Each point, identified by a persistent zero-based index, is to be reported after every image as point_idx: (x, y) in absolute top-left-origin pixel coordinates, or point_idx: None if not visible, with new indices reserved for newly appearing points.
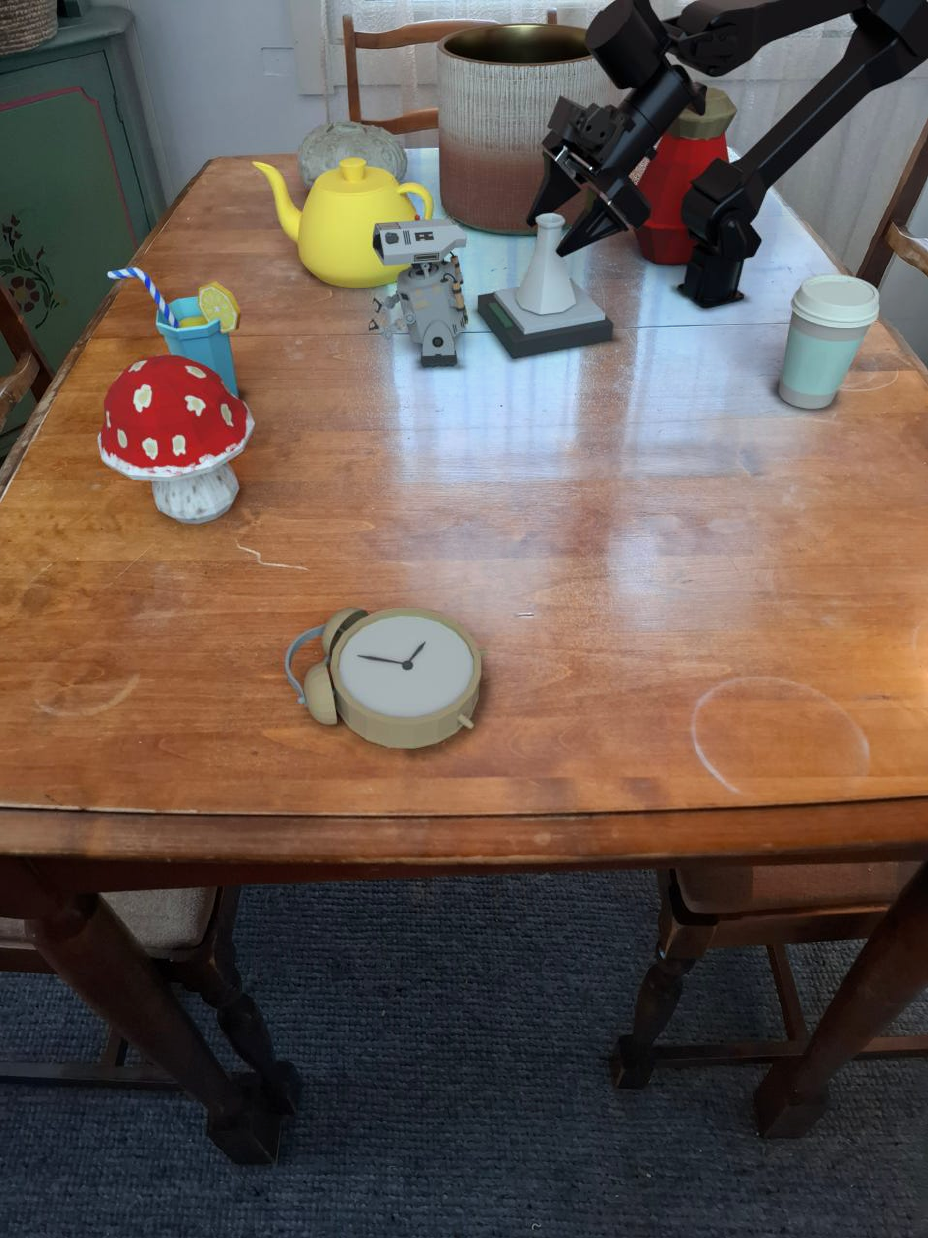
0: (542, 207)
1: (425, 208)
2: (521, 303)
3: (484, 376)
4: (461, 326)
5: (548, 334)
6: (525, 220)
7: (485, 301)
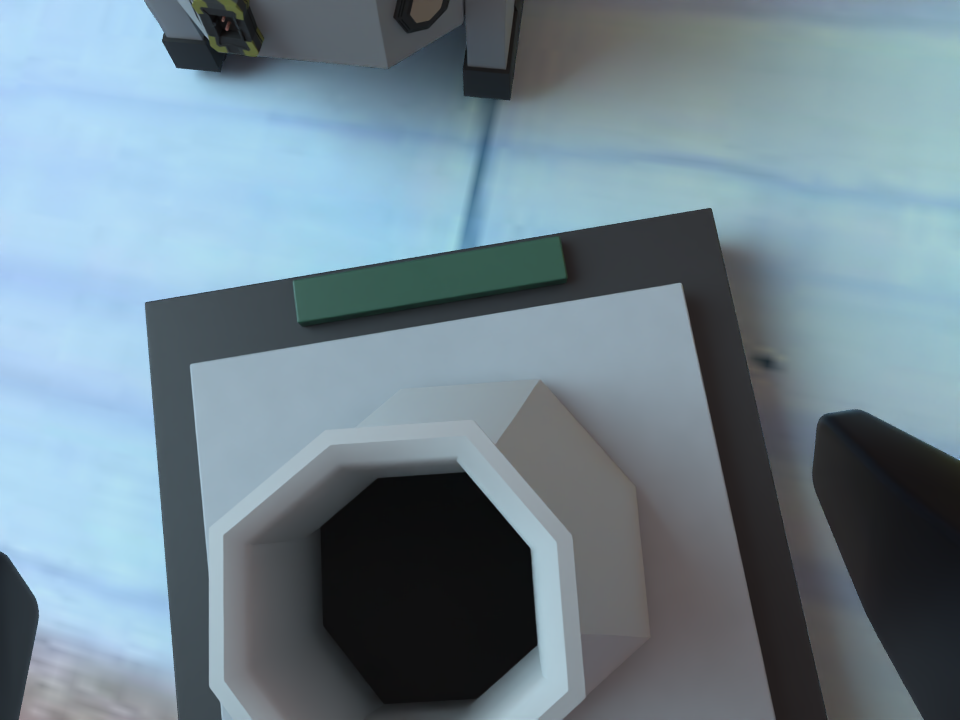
0: (950, 631)
1: None
2: (415, 389)
3: (75, 175)
4: (198, 17)
5: (170, 500)
6: (858, 410)
7: (623, 236)
